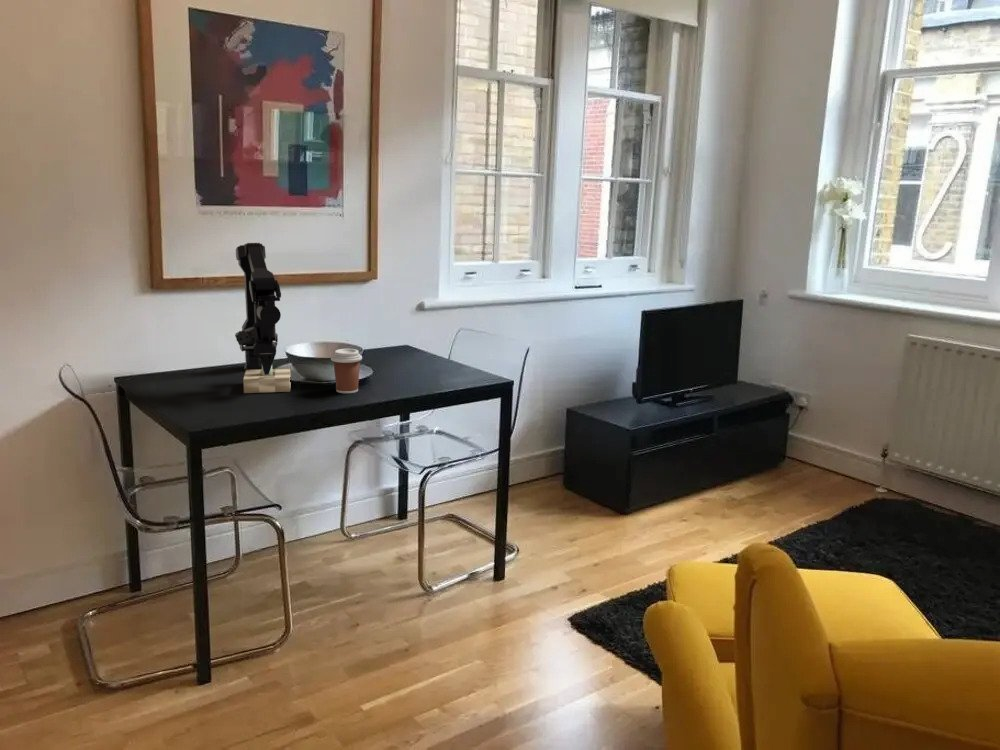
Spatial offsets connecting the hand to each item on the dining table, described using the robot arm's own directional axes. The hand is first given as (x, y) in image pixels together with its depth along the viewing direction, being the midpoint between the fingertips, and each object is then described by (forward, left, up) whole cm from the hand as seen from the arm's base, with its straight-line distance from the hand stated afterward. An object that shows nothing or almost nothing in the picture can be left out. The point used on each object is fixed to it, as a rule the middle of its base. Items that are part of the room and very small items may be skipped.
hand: (267, 370), depth 249 cm
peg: (0, 0, -5) cm, 5 cm away
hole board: (0, 0, -5) cm, 5 cm away
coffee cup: (+7, +23, -5) cm, 25 cm away
